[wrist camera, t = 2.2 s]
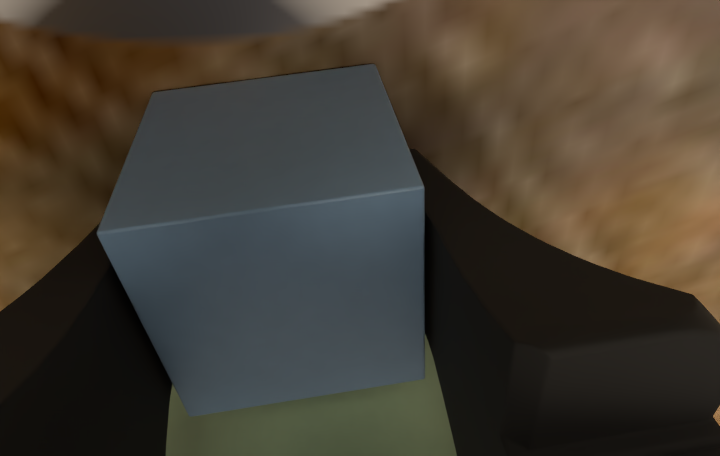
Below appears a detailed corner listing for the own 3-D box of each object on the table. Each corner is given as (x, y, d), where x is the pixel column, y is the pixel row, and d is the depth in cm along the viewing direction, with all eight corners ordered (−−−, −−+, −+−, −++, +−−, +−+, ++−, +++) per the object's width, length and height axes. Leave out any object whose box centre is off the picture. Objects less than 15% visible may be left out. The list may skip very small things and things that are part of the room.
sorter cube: (386, 232, 15) (425, 380, 11) (209, 258, 14) (188, 418, 11) (375, 62, 12) (425, 186, 8) (151, 91, 11) (94, 233, 8)
